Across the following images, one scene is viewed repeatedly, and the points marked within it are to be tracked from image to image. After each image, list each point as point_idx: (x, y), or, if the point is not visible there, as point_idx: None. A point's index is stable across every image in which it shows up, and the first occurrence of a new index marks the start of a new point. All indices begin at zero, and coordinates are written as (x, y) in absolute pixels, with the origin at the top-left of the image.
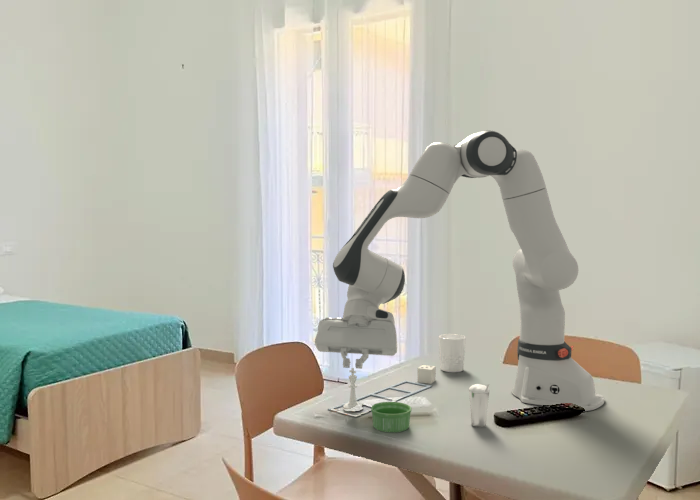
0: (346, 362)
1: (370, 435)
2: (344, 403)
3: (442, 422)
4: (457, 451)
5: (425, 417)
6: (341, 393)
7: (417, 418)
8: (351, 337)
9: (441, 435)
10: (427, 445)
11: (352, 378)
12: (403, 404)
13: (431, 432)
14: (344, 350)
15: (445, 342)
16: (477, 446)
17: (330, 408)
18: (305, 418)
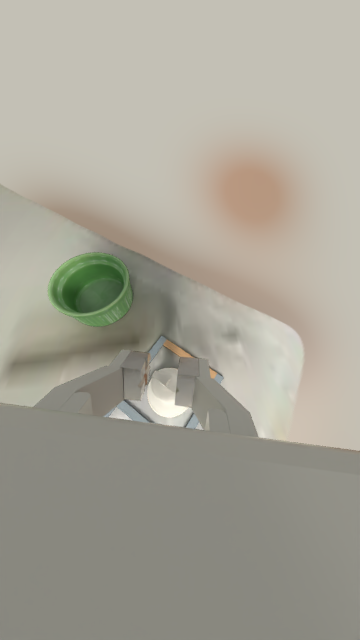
0: (191, 361)
1: (139, 267)
2: (192, 425)
3: (6, 324)
4: (39, 232)
5: (26, 349)
6: None
7: (45, 342)
8: (157, 605)
9: (36, 272)
10: (69, 243)
11: (166, 368)
12: (57, 304)
13: (46, 282)
14: (221, 417)
15: None
16: (5, 244)
17: (218, 381)
18: (252, 326)
